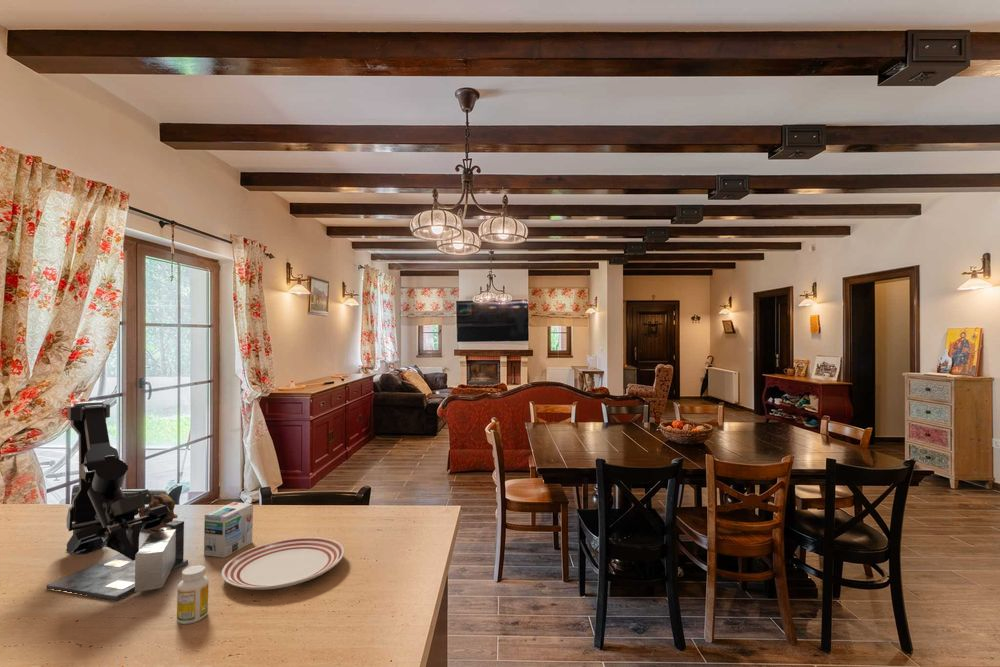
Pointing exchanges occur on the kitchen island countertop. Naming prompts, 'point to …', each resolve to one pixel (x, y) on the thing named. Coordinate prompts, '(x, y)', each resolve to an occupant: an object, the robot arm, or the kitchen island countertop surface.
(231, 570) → the dinner plate
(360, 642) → the kitchen island countertop surface
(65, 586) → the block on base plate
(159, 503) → the wooden carving
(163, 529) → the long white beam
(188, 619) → the supplement bottle
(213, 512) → the light bulb box
